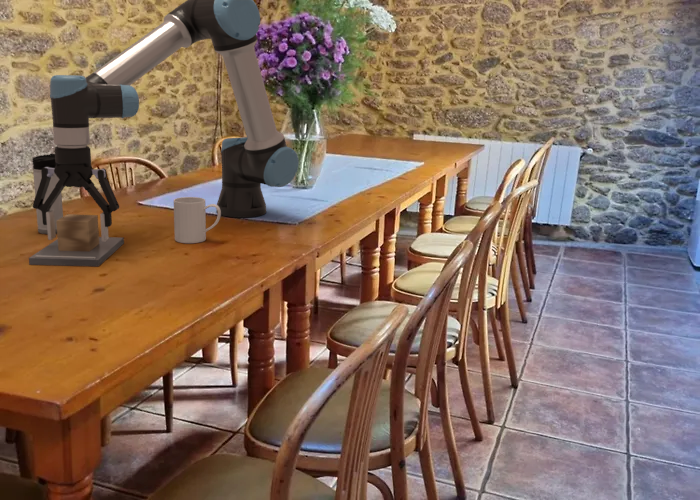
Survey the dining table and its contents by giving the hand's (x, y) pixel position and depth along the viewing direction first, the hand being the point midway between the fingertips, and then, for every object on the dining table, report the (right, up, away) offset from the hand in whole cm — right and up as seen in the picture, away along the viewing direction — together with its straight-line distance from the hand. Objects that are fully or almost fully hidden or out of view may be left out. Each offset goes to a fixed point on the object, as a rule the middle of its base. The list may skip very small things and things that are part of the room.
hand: (78, 239), depth 160 cm
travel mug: (-15, +2, +20) cm, 25 cm away
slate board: (0, -3, +1) cm, 3 cm away
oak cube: (0, -2, +1) cm, 2 cm away
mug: (+24, 0, +16) cm, 29 cm away
